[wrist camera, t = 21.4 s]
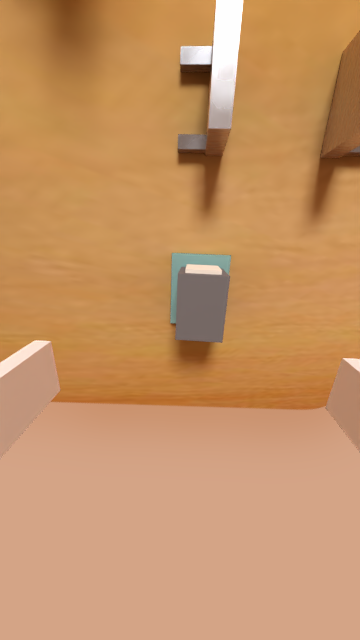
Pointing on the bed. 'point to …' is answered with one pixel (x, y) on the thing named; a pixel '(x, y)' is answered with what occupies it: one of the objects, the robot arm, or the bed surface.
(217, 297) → the grey rectangular block
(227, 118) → the channel
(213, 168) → the bed surface
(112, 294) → the bed surface
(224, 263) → the mat
